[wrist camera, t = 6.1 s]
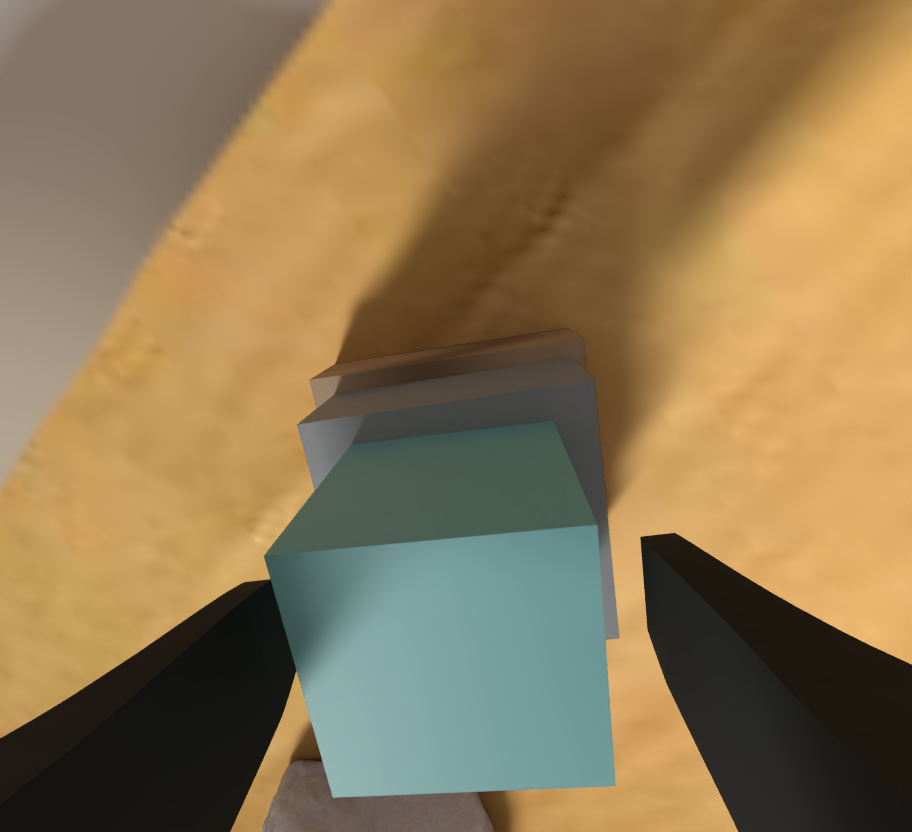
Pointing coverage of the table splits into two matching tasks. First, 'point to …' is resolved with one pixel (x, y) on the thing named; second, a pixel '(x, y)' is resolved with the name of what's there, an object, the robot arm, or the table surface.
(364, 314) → the table surface
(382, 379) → the walnut slab
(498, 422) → the grey block
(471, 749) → the teal cube
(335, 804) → the stone block
